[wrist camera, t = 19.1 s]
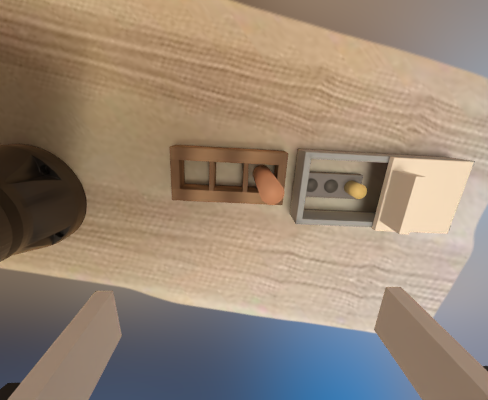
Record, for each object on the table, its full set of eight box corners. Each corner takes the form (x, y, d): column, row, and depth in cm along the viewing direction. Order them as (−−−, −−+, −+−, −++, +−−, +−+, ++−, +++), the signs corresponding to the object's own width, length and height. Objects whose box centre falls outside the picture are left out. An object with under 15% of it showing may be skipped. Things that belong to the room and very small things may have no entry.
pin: (252, 181, 34) (259, 204, 24) (253, 164, 33) (260, 180, 24) (269, 182, 34) (282, 205, 24) (271, 165, 33) (285, 181, 24)
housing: (289, 213, 36) (295, 224, 32) (298, 148, 32) (305, 151, 29) (427, 219, 37) (449, 230, 33) (448, 157, 33) (474, 161, 30)
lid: (371, 228, 32) (394, 245, 27) (390, 156, 29) (418, 162, 24) (442, 230, 32) (475, 248, 28) (467, 161, 29) (510, 167, 25)
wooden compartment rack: (177, 193, 34) (172, 200, 31) (175, 144, 32) (169, 146, 29) (278, 198, 35) (282, 204, 32) (283, 150, 33) (288, 153, 30)
